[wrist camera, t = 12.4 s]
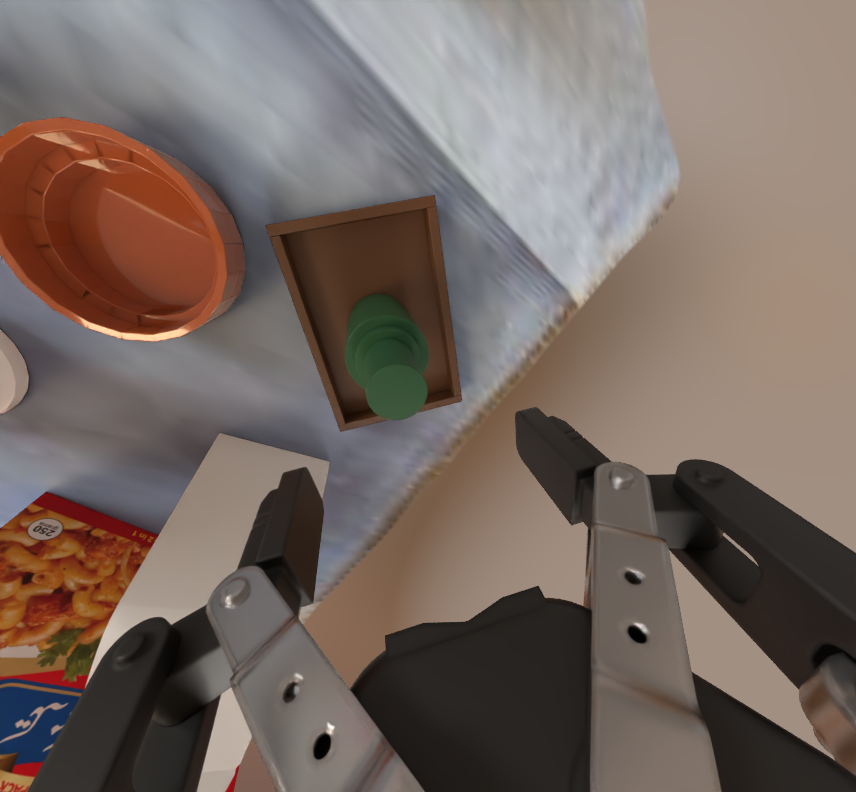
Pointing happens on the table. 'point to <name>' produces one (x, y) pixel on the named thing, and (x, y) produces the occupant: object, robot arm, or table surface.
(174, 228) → the bowl
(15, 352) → the decorative container
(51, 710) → the pasta box
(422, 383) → the bottle
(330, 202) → the table surface
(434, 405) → the tray
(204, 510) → the milk
